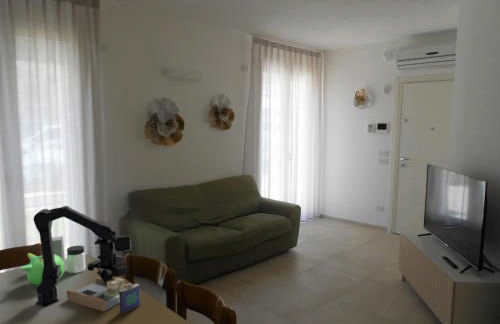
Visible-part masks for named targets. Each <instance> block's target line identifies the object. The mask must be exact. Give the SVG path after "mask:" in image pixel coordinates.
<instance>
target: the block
mask: <svg viewBox="0 0 500 324" xmlns="http://www.w3.org/2000/svg"><path fill="white" fill-rule="evenodd" d="M124 284H125V279H123V278H119V277H113V278H112V279H111V280H109V281H107V293H110V294H113V295H117V294H119V291H120V290H121V289H122V288H123V289H124Z"/></svg>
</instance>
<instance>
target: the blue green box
mask: <svg viewBox="0 0 500 324" xmlns="http://www.w3.org/2000/svg"><path fill="white" fill-rule="evenodd" d="M127 284H128V286H127V288H125V289H123V288H122V289H121V290H120V291H119V299H120V303H119V309H120V311H119V312H120V314H125V313H128V312H131V311H133V310H134V309H137V308H138V307H139V306H141V299H140V298H141V297H140V295H141V294H140V284H139V283H134V284H133V283H131V282H128V283H127Z"/></svg>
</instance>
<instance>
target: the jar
mask: <svg viewBox="0 0 500 324" xmlns="http://www.w3.org/2000/svg"><path fill="white" fill-rule="evenodd" d="M66 268H67V270H66V271H67V273H68V274H69V273H70V274H78V273H82V272H85V270H86V268H87V267H86V251H85V246H83V245H72V246H70V247H67V248H66Z"/></svg>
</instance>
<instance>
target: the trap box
mask: <svg viewBox="0 0 500 324" xmlns="http://www.w3.org/2000/svg"><path fill="white" fill-rule="evenodd" d="M128 285H129V284H128V283H124V289H125V288H127V286H128ZM66 298H67V301H68V302H71V303H74V304H78V305H80V306H81V305H82V306H84V307H87V308H91V309H93V310H97V311H100V312H106V311H108V310H110V309H111V308H113V307H114V306H115V307H116V306H117V305H118V304H119V305H120V299H119V294H117V295H113V294H110V293H107V287H106V285H105V283H104V282H103V280H102V279H101V277H100V276H96V277H95V282H92V283H91V284H88V285H86V286H84V287H81V288H79V289H77V290H72V289H67V290H66Z"/></svg>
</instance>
